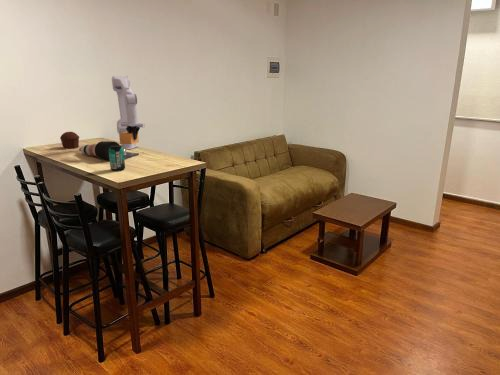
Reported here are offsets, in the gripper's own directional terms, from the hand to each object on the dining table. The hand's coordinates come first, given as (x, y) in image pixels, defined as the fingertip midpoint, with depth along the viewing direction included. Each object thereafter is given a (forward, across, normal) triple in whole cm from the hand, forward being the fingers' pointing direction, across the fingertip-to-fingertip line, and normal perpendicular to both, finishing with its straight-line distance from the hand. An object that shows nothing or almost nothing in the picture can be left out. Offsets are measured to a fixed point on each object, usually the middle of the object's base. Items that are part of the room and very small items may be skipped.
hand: (133, 139), depth 230 cm
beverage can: (+9, +12, -34) cm, 37 cm away
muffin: (+9, -51, +6) cm, 52 cm away
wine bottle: (+10, -18, -12) cm, 23 cm away
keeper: (+9, -3, -7) cm, 12 cm away
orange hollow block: (+2, -3, 0) cm, 4 cm away
